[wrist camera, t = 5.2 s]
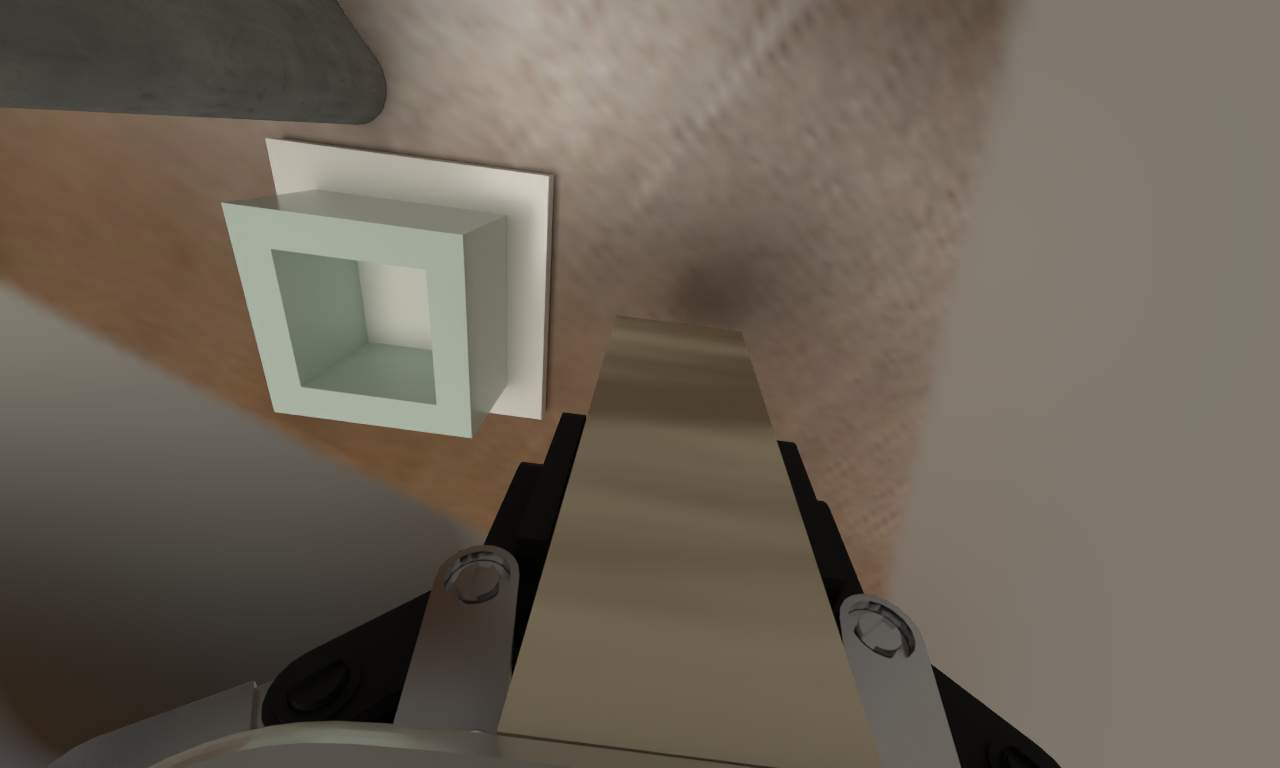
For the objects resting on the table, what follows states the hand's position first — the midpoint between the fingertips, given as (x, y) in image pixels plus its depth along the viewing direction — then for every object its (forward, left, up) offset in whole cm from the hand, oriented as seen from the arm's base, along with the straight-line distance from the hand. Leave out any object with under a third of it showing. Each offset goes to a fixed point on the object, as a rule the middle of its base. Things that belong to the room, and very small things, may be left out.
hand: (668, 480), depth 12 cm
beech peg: (0, 0, -5) cm, 5 cm away
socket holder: (+1, -12, -13) cm, 18 cm away
